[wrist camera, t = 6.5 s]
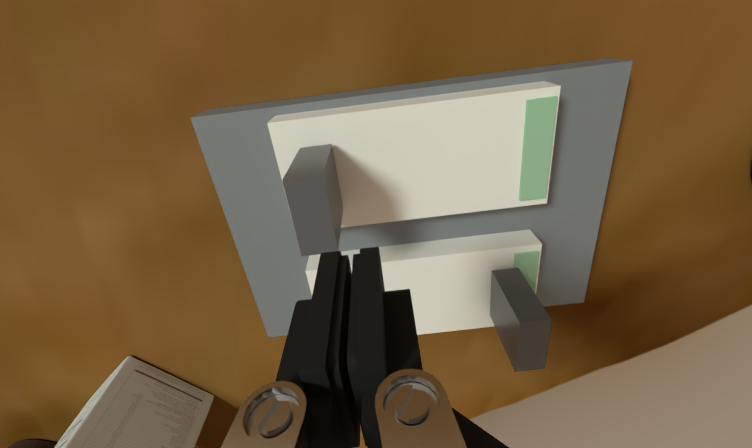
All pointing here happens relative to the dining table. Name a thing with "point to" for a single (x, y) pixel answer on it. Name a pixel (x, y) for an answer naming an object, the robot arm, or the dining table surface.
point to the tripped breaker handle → (314, 199)
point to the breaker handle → (519, 319)
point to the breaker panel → (547, 221)
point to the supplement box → (140, 411)
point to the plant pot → (33, 444)
